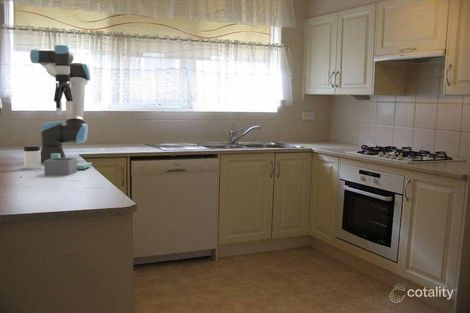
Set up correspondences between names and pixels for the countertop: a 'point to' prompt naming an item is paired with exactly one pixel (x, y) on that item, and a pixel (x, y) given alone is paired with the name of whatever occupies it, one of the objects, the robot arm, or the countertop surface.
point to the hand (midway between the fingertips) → (64, 113)
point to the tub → (60, 166)
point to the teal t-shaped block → (79, 165)
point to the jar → (32, 157)
